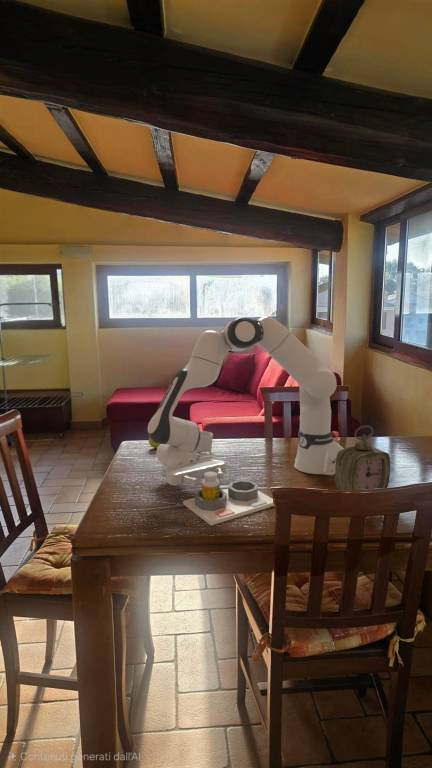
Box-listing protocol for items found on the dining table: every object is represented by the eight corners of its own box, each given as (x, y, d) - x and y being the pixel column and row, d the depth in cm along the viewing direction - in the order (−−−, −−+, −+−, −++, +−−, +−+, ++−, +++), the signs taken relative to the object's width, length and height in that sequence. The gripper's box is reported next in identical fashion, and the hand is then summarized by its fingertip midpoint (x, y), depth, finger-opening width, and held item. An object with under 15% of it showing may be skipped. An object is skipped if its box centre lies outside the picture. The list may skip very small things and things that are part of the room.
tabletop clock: (349, 514, 137) (354, 432, 133) (330, 501, 146) (334, 424, 141) (387, 505, 143) (393, 426, 138) (367, 493, 151) (372, 419, 147)
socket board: (246, 487, 157) (246, 475, 156) (277, 504, 143) (277, 492, 143) (183, 504, 144) (183, 491, 143) (211, 525, 131) (210, 511, 130)
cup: (196, 446, 198) (196, 428, 197) (215, 447, 197) (215, 429, 196) (191, 455, 188) (191, 436, 186) (211, 456, 187) (211, 437, 185)
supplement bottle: (204, 499, 145) (204, 469, 143) (221, 500, 144) (221, 471, 142) (200, 506, 140) (199, 476, 138) (217, 508, 138) (217, 477, 137)
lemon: (164, 450, 194) (163, 427, 192) (150, 451, 192) (149, 428, 190) (161, 445, 200) (160, 423, 198) (147, 446, 198) (147, 424, 197)
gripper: (157, 462, 146) (178, 476, 135) (212, 450, 157) (236, 463, 146) (157, 481, 147) (178, 496, 136) (212, 468, 158) (236, 482, 147)
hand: (209, 479), depth 141 cm, fingers open, 8 cm apart
